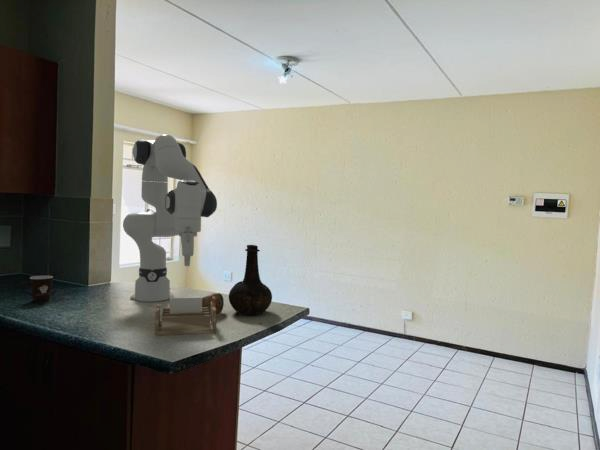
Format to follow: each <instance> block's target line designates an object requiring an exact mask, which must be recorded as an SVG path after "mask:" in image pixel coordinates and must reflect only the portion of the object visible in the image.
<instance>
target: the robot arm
mask: <svg viewBox="0 0 600 450" xmlns="http://www.w3.org/2000/svg"><path fill="white" fill-rule="evenodd" d="M132 156H133V157H132V158H133V159H134V160H133V161H135V162H136V164H139V165H142V167H143V168H142V173H141V199H142V201H144V203H147V205H150V206H152V207H154V209H155V211H154V212H133V213H132V212H131V213H128V214H127V215H126V216H125V217H124V219H123V222H122V227H123V231H124V233H125V234H126V235H127V236H128V237H130V238H131V239H132V240H133V241H134V242H135V244H136V245H137V247H138V251H139V260H140V261H139V264H140V266H139V267H138V278H137V279H136V280H134V281H135V283H134V284H135V285H134V294H132V295H131V296H130V300H136V301H138V302H139V301H140V302H163V301H166V300H170V297H175V295H174V294H173V293H172V292H171V285H170V284H171V283H170V282H171V280H170V279H169V278H168V277H167V272H168V267H167V251H166V249H165V248H164V247H163V246H161V245H159V244H157V243H155V242H153V238H170V237H175V236H179V237H180V242H181V243H180V244H181V253H182V257H183V260H184V262H183V263H184V267H190V266H191V257H193V256H194V254H195V253H194V251H195V250H194V248H195V247H194V246H195V244H194V243H195V237H198V233H200V232H201V231H202V218H209V217H210V216H212V215H213V214H215V212H216V211H217V207H218V201H217V197H216V195H215V193H213V191H212V190H211V189H210V188H209V186H208V185H207V183H206V182H205V179H204V178H203V175H201V173H200V171H199V170H198V167H197V166H196V165H194V164H193V163H191V162H190V161H189V160H188V159H187V149H186V146H185V145H184V144H183V143H181V142H178V141H177V140H176V138H175V137H174V136H172V135H170V134H167V133H166V134H160V135H159V136H157V137H156V138H155V139H139V140H136V141H135V143H134V145H133V147H132ZM168 178H169V179H170V178H171V179H175V180H178V181H177V183H176V187H175V188H174V189H171V190H169V192H168V187H169V183H168V182H169V181H168Z"/></svg>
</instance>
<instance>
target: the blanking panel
mask: <svg viewBox="0 0 600 450" xmlns="http://www.w3.org/2000/svg"><path fill="white" fill-rule="evenodd" d="M202 298H203V296H201V295H200V296H174V297H170V299H169V308H170V313H202Z"/></svg>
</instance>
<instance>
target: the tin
mask: <svg viewBox="0 0 600 450" xmlns="http://www.w3.org/2000/svg"><path fill="white" fill-rule="evenodd" d="M214 296H215V308H216V316H217V315H220V314H221V313H222V311H223V309H224V304H225V302H224V296H223V295H222V294H221V293H219V292H218V293H217V292H216V293H211V294H208V295H206V296H202V307H208V310H209V315H210V314H211V302H212V297H214Z"/></svg>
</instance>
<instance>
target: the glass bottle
mask: <svg viewBox="0 0 600 450" xmlns="http://www.w3.org/2000/svg"><path fill="white" fill-rule="evenodd" d="M258 248H259V246H257V244H247V245H246V248H245V252H246V261H245V270H244V276H243V280H241V281H238V282H236V283H235V284H234V285H233V287H232V288H231V289H230V290H229V292H228V300H229V305H230V306H231V308H233V309H234V311H235V312H237V313H238V314H240V315H244V316H256V315H259V314H262V313H264V312H266V311H267V310H268V309H269V307H270V306H271V304H272V300H273V294H272V291H271V289H270V288H269V287H268V286H267V285H266V284H265V283H263V282H262V280H261V277H260V271H259V261H258V260H259V257H258V252H260V251H261V250H260V249H258Z"/></svg>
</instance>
